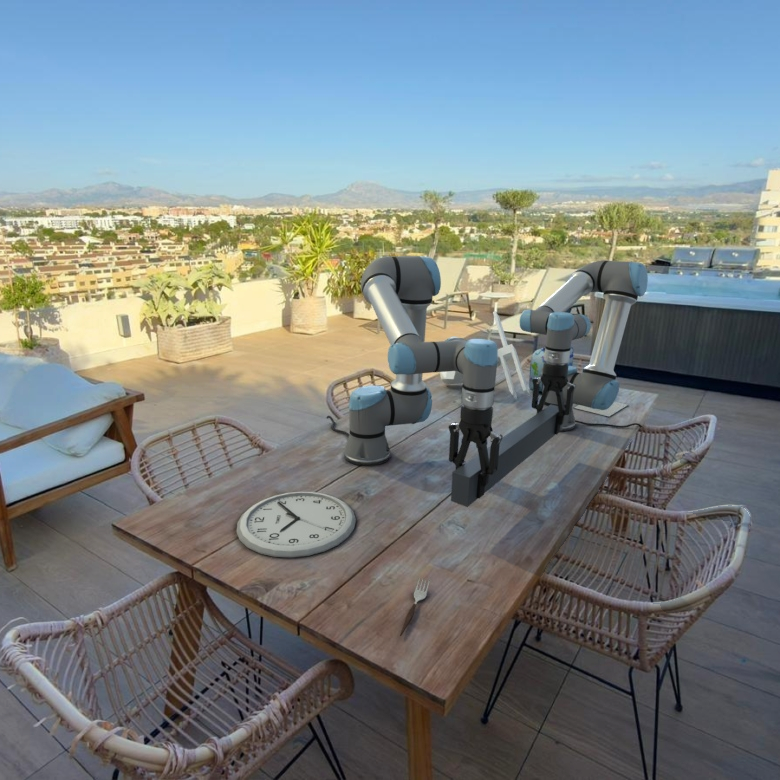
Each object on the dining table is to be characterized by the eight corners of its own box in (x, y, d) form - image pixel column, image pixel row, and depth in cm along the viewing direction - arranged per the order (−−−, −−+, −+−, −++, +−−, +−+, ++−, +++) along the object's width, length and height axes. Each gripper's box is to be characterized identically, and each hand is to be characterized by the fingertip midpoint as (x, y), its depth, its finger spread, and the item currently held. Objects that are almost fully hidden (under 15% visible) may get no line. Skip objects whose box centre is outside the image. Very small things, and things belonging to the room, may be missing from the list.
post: (548, 426, 177) (550, 404, 174) (561, 429, 174) (564, 407, 172) (450, 501, 128) (452, 471, 126) (467, 507, 125) (469, 477, 123)
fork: (393, 636, 97) (393, 627, 97) (418, 584, 112) (419, 576, 111) (406, 640, 96) (407, 631, 96) (430, 587, 111) (430, 579, 110)
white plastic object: (461, 429, 252) (437, 405, 227) (444, 352, 274) (420, 323, 250) (535, 404, 240) (518, 377, 215) (510, 326, 262) (492, 293, 237)
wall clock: (357, 549, 121) (224, 553, 118) (357, 555, 121) (224, 559, 118) (354, 487, 149) (247, 489, 147) (354, 492, 150) (247, 495, 147)
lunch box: (545, 397, 238) (550, 352, 231) (524, 391, 245) (529, 348, 239) (572, 386, 255) (578, 344, 249) (552, 381, 262) (557, 340, 256)
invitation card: (608, 416, 214) (573, 407, 224) (608, 416, 214) (573, 408, 224) (628, 404, 229) (594, 396, 238) (628, 405, 229) (594, 397, 238)
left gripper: (436, 401, 126) (432, 487, 133) (505, 418, 116) (496, 510, 123) (452, 393, 132) (447, 476, 139) (518, 409, 122) (509, 497, 129)
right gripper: (524, 360, 166) (518, 428, 173) (581, 369, 156) (572, 441, 163) (533, 355, 171) (526, 421, 179) (588, 364, 162) (579, 433, 169)
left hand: (470, 492), depth 131 cm, fingers closed on post, 5 cm apart
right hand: (548, 431), depth 171 cm, fingers closed on post, 5 cm apart
